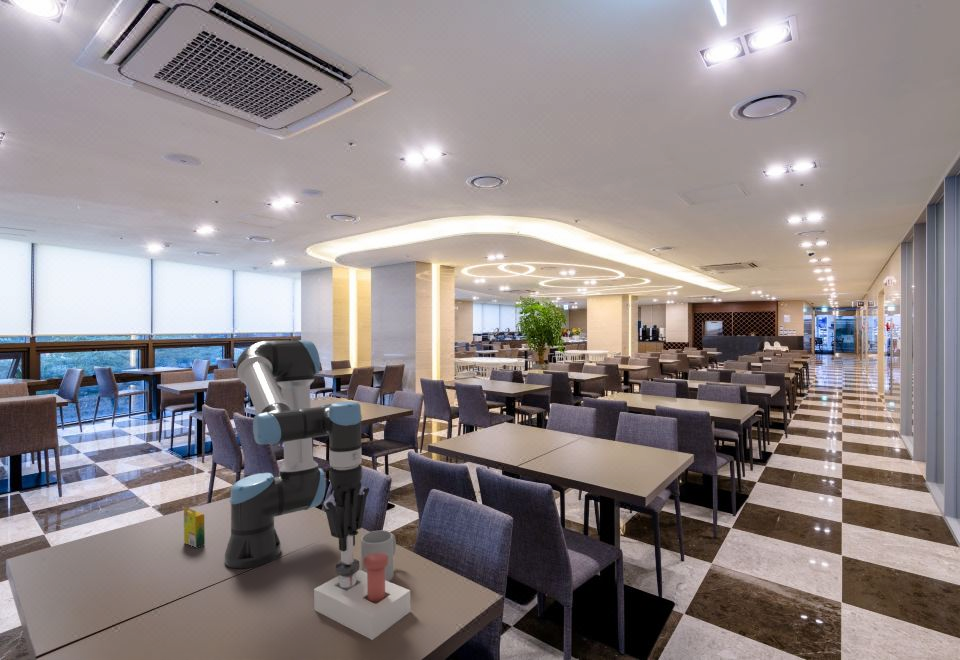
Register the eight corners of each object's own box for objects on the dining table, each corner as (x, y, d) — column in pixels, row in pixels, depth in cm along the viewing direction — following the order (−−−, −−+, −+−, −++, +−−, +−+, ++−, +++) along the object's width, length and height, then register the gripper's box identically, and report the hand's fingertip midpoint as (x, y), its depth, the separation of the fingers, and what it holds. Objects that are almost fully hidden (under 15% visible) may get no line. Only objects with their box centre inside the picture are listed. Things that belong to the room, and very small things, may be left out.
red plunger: (358, 600, 106) (358, 560, 106) (377, 589, 110) (376, 550, 110) (375, 608, 103) (375, 567, 103) (393, 596, 107) (393, 556, 107)
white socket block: (314, 610, 110) (314, 589, 110) (353, 586, 120) (353, 567, 120) (372, 640, 99) (371, 616, 99) (410, 611, 109) (410, 590, 109)
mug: (380, 588, 119) (380, 546, 119) (354, 581, 122) (354, 540, 122) (407, 567, 129) (406, 528, 129) (382, 561, 133) (382, 523, 133)
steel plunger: (331, 604, 111) (330, 566, 111) (349, 593, 116) (349, 556, 116) (346, 612, 108) (345, 572, 108) (364, 600, 113) (364, 562, 113)
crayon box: (205, 545, 146) (204, 508, 146) (195, 548, 143) (194, 511, 143) (193, 539, 150) (192, 504, 150) (183, 543, 147) (183, 506, 147)
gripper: (334, 475, 105) (335, 578, 105) (376, 461, 116) (377, 554, 116) (313, 470, 109) (314, 569, 109) (356, 457, 120) (357, 547, 120)
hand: (347, 561), depth 112 cm, fingers closed
